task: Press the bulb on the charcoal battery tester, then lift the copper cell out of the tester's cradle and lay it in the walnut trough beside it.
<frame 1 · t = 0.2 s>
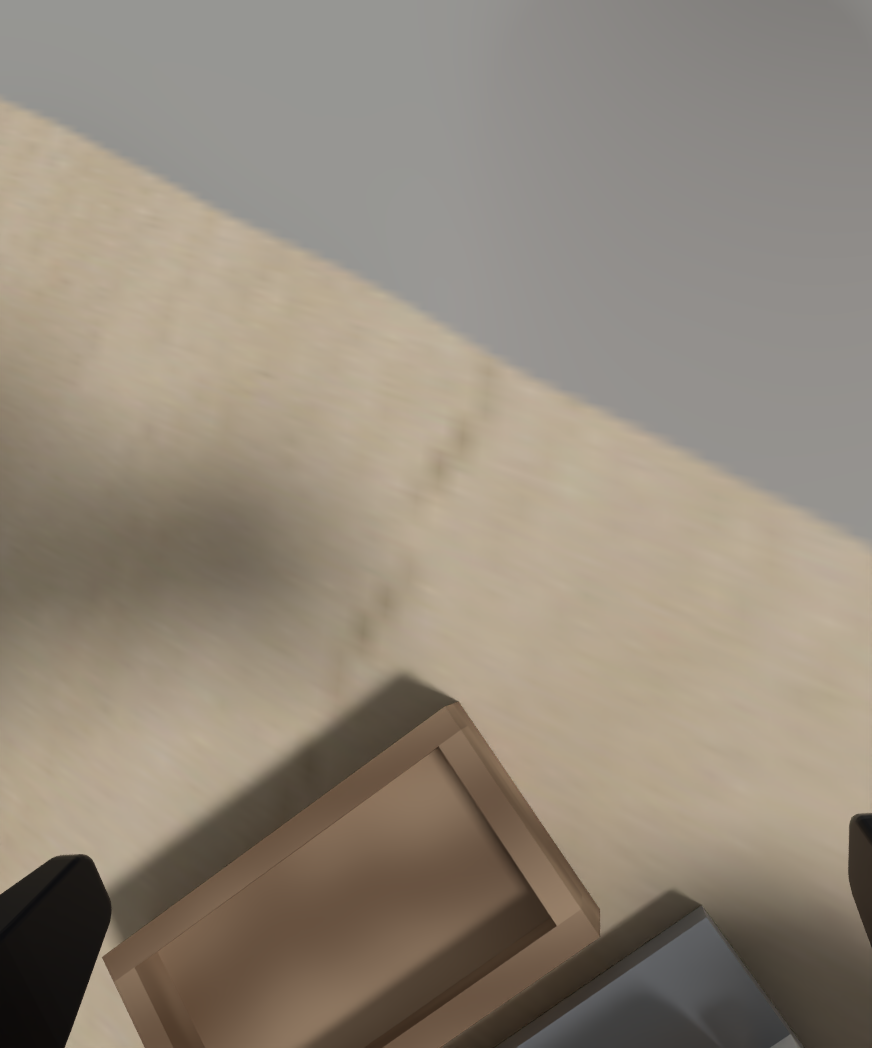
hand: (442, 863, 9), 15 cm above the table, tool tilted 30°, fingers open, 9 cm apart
trough: (358, 920, 23), on the table
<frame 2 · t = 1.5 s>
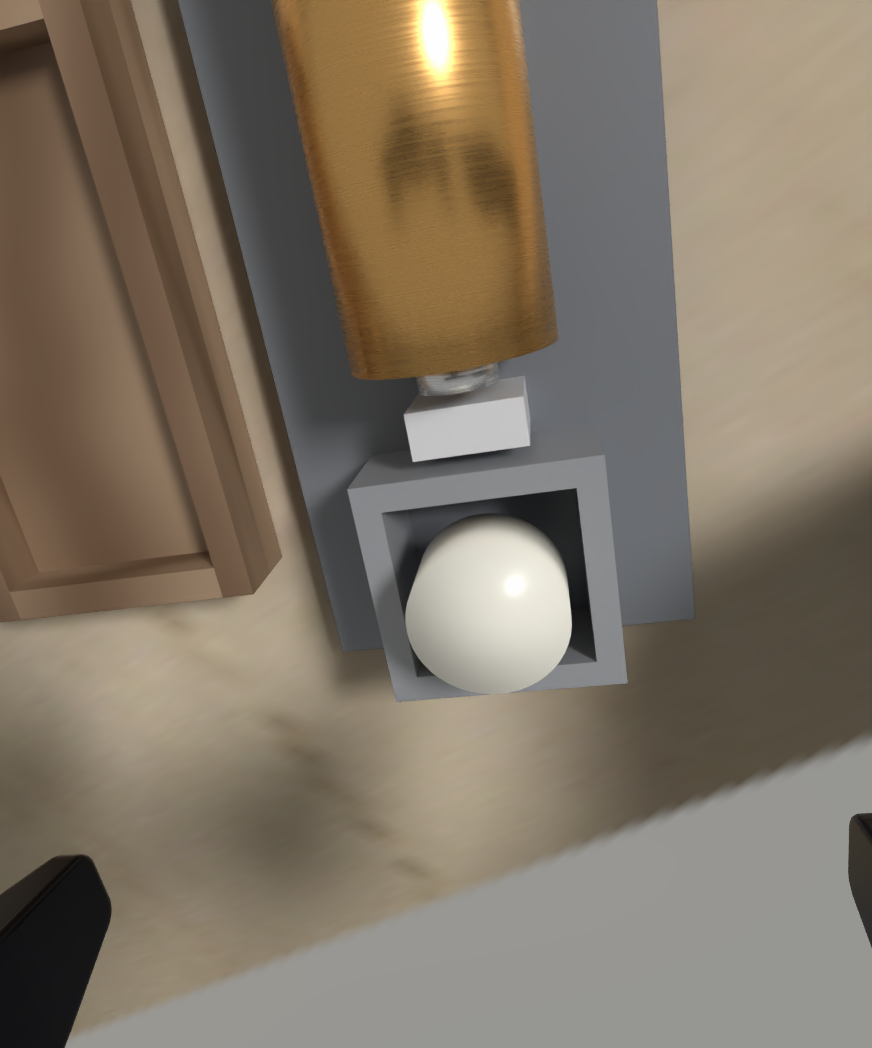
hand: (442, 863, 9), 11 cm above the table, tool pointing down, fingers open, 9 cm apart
trough: (80, 335, 18), on the table
bulb: (489, 602, 15), point 4 cm above the table, slide at 0.0 cm
tester: (456, 266, 17), on the table
cell: (410, 91, 13), point 3 cm above the table, touching tester
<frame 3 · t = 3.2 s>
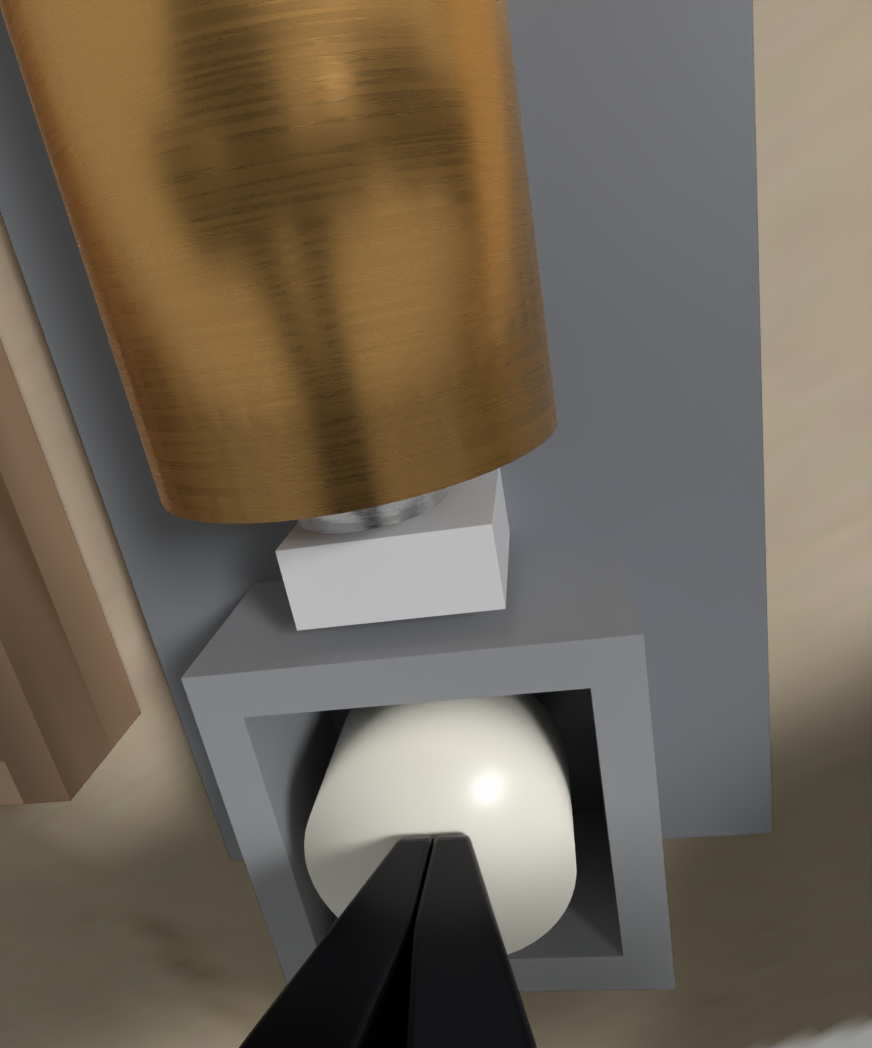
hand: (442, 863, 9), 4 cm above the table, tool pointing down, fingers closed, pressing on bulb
bulb: (445, 809, 9), point 3 cm above the table, slide at -1.1 cm, touching gripper
tester: (386, 278, 10), on the table
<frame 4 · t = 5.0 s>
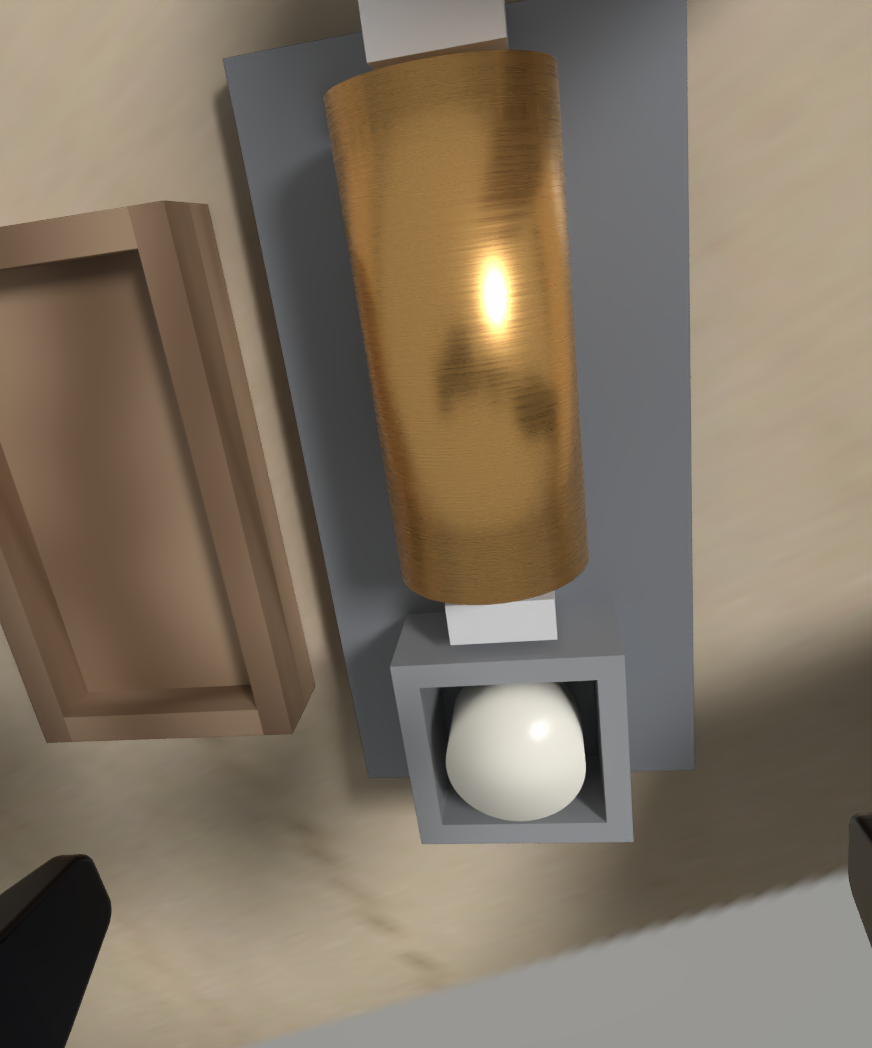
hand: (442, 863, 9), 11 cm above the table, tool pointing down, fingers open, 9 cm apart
trough: (140, 486, 20), on the table
bulb: (515, 741, 18), point 3 cm above the table, slide at -1.2 cm
tester: (493, 452, 18), on the table
cell: (469, 349, 14), point 3 cm above the table, touching tester
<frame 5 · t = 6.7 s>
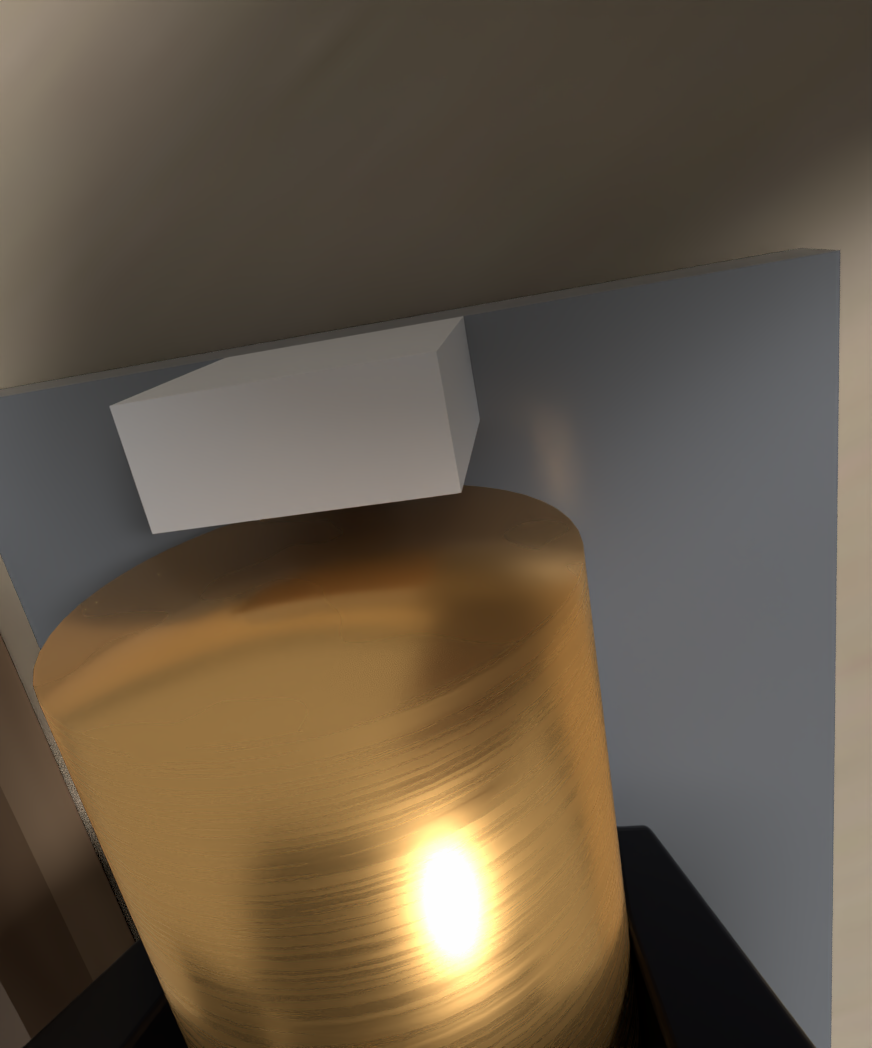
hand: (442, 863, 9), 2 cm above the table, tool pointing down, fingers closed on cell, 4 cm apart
tester: (488, 929, 11), on the table
cell: (424, 991, 7), point 3 cm above the table, touching gripper, tester
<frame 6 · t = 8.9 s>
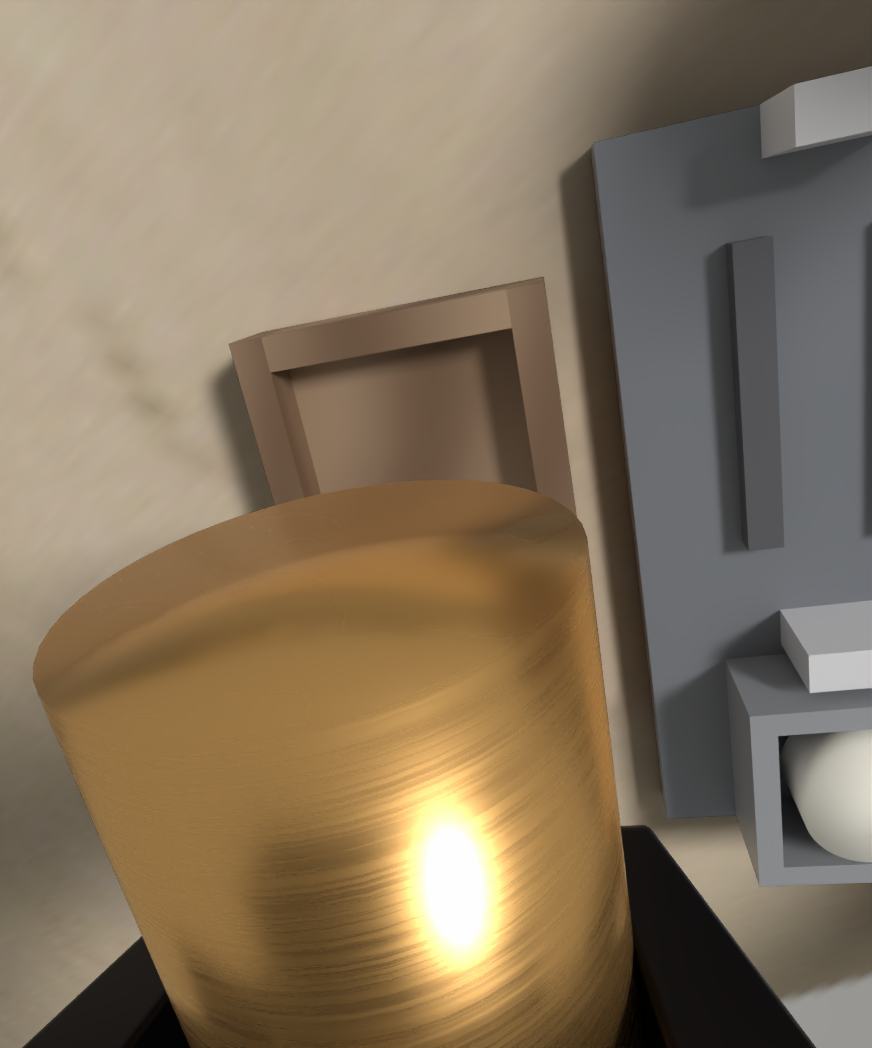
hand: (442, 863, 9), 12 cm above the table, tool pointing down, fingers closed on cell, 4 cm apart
trough: (446, 545, 20), on the table
bulb: (861, 782, 18), point 3 cm above the table, slide at -1.2 cm
tester: (815, 498, 19), on the table
cell: (426, 989, 7), point 14 cm above the table, touching gripper
when the fingers open (3 cm above the table, at t = 11.4 s): cell drops 1 cm, resting on trough.
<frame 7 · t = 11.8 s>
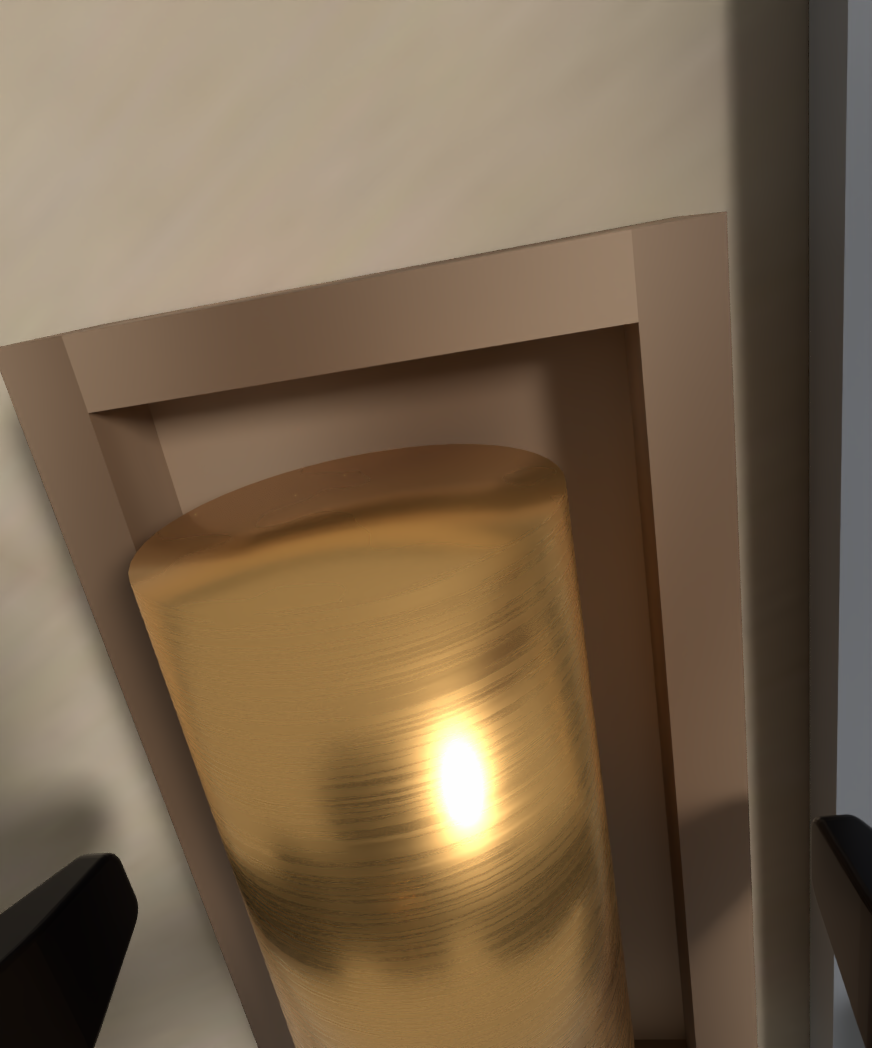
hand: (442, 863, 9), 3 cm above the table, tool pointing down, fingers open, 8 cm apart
trough: (459, 718, 11), on the table
cell: (434, 874, 8), point 3 cm above the table, touching trough
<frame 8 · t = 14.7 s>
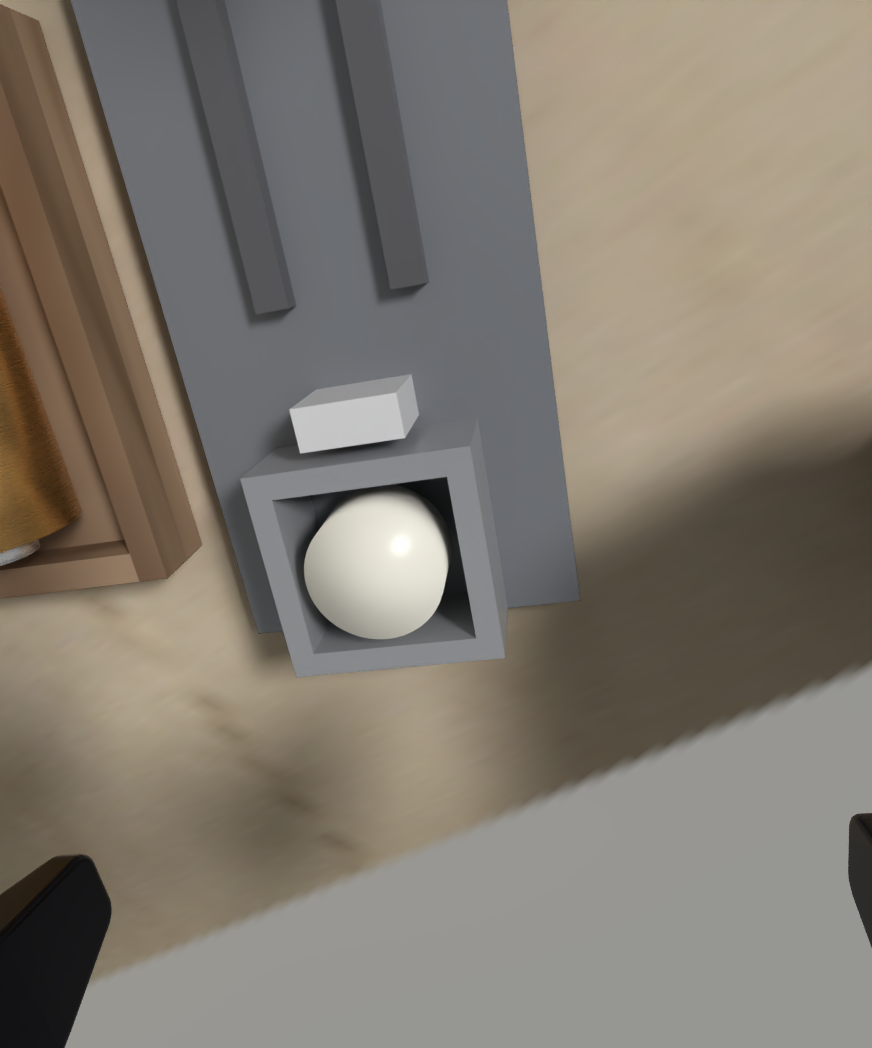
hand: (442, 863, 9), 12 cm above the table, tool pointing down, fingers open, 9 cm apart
trough: (6, 337, 20), on the table
bulb: (380, 560, 17), point 3 cm above the table, slide at -1.2 cm
tester: (350, 272, 18), on the table
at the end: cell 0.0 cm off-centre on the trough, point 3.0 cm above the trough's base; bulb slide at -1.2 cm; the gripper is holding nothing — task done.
